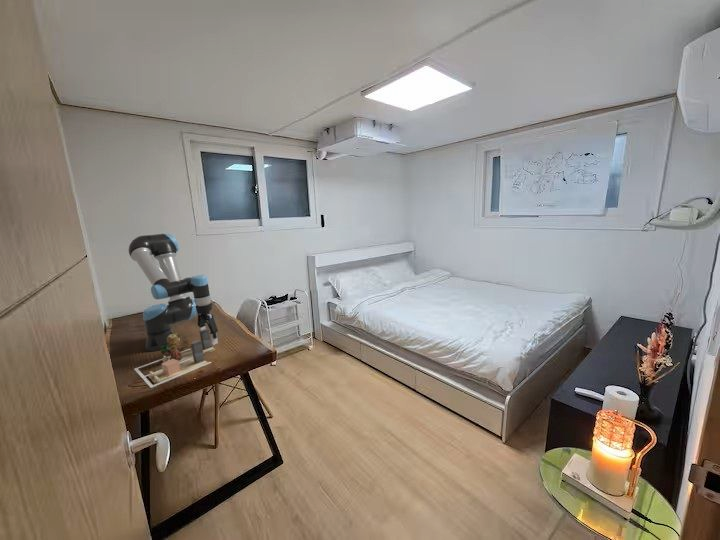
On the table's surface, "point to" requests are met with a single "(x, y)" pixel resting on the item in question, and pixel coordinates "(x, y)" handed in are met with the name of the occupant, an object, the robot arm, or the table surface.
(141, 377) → the lane board
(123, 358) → the table surface
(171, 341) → the figurine
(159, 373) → the strip
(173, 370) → the terracotta cube
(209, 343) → the strip
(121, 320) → the table surface
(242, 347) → the table surface
